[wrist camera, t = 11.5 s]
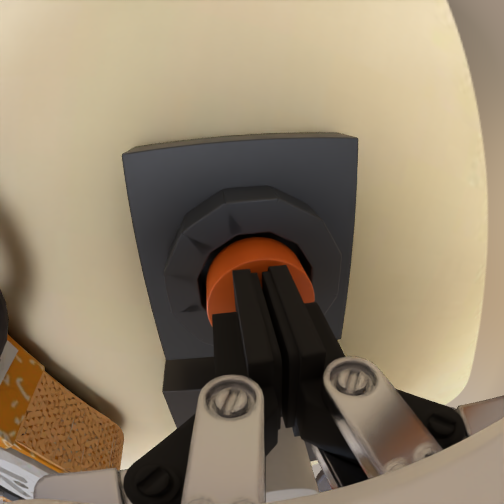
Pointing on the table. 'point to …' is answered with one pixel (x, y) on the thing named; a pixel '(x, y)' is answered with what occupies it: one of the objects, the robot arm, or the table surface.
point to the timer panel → (192, 388)
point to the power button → (257, 260)
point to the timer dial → (289, 468)
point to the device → (45, 424)
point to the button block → (239, 219)
